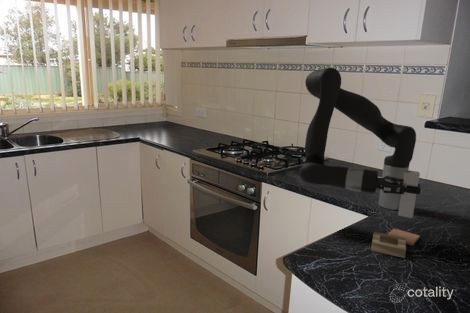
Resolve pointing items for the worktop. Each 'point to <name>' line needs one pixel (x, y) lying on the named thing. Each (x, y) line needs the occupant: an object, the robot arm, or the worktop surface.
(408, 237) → the tile
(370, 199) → the worktop surface
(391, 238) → the socket block
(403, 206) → the grey tapered block
